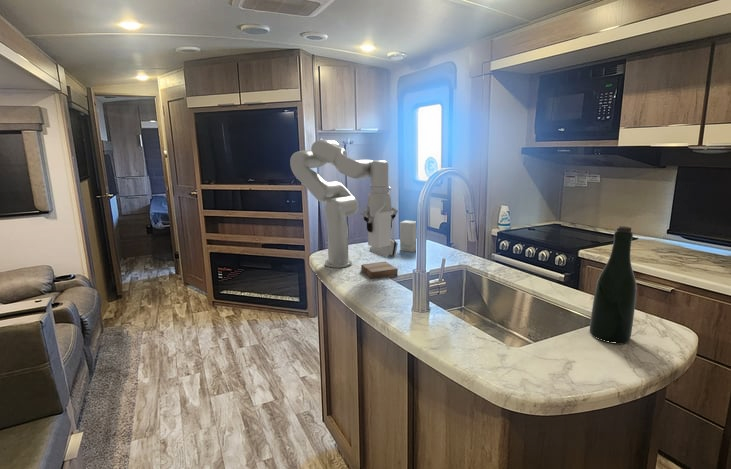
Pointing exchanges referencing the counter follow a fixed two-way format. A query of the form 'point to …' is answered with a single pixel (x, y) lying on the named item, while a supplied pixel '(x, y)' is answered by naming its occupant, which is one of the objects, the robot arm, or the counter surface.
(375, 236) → the milk carton
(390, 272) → the walnut stand
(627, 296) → the dark green wine bottle
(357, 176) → the robot arm
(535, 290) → the counter surface
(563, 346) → the counter surface
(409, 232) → the skincare box
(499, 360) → the counter surface
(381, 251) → the grey rounded slab
